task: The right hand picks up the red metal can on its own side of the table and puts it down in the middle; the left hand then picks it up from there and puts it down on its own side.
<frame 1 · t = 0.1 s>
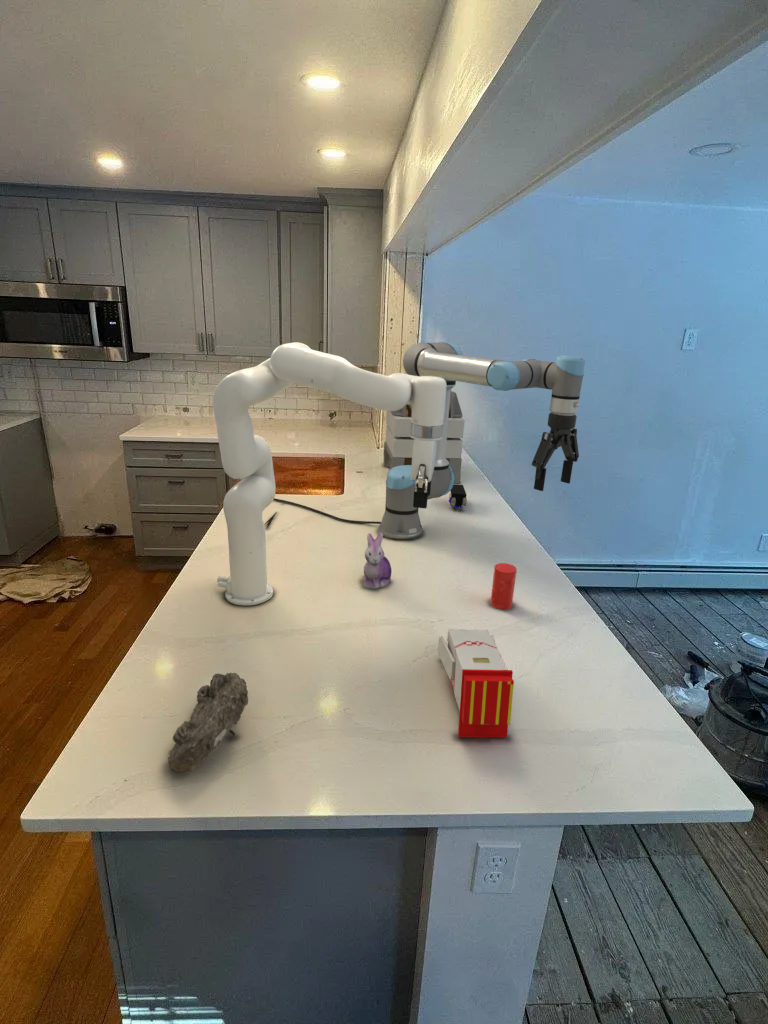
left hand: (421, 501, 137), 31 cm above the counter, tool pointing down, fingers open, 9 cm apart
right hand: (552, 486, 165), 28 cm above the counter, tool pointing down, fingers open, 13 cm apart
feather: (274, 516, 211), on the counter
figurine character: (456, 506, 231), on the counter
toy: (469, 691, 119), on the counter
fossil: (215, 733, 104), on the counter
figurine: (376, 582, 164), on the counter
can: (501, 604, 155), on the counter
grey wooden crate: (419, 473, 275), on the counter
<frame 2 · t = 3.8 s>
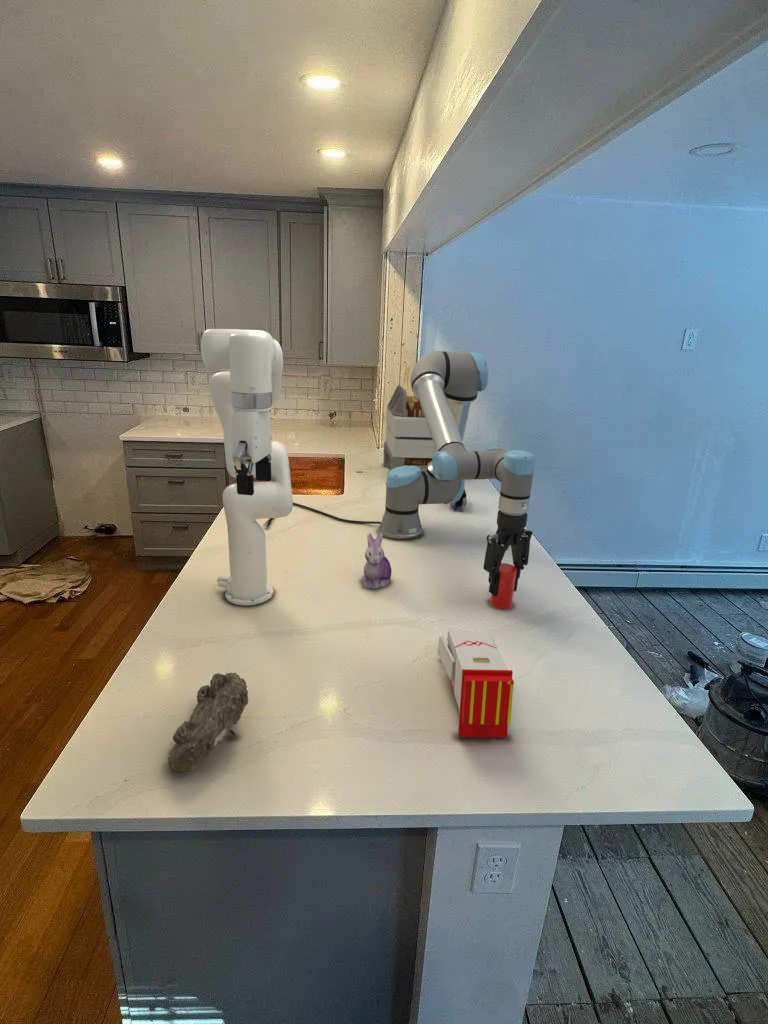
left hand: (255, 487, 113), 40 cm above the counter, tool pointing down, fingers open, 9 cm apart
right hand: (502, 591, 154), 4 cm above the counter, tool pointing down, fingers closed on can, 6 cm apart
can: (501, 604, 155), on the counter, touching right hand
everything else where it was.
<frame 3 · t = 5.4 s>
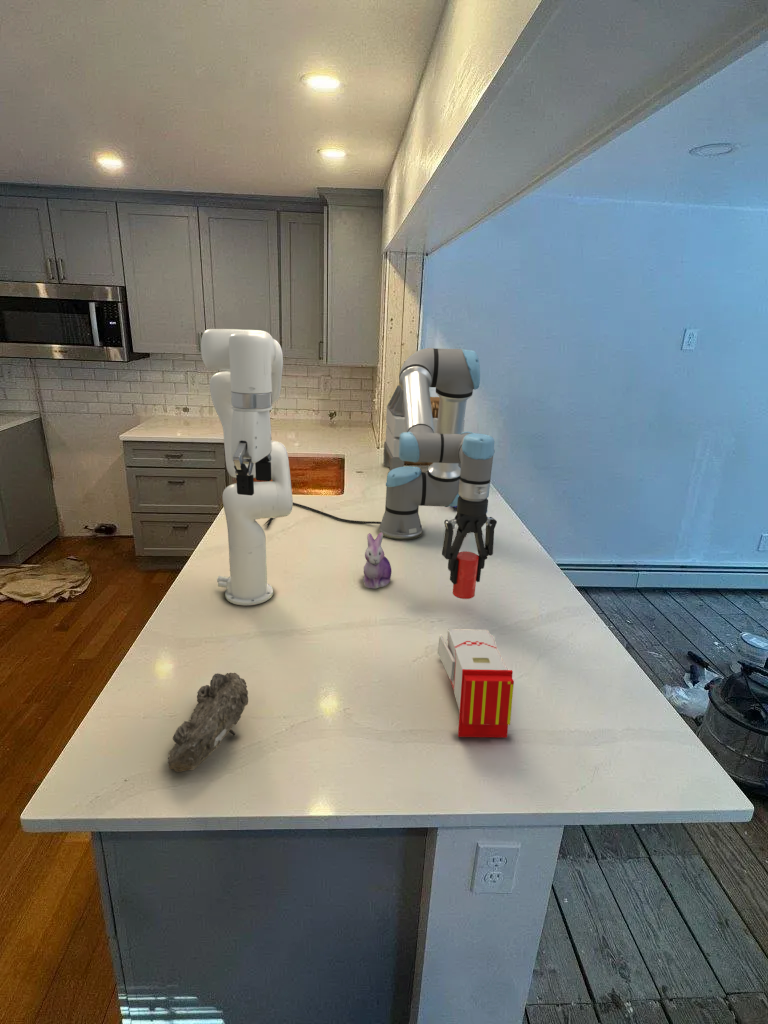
left hand: (255, 487, 113), 40 cm above the counter, tool pointing down, fingers open, 9 cm apart
right hand: (464, 580, 149), 8 cm above the counter, tool pointing down, fingers closed on can, 6 cm apart
can: (463, 593, 150), point 5 cm above the counter, touching right hand
everything else where it was.
when the right hand's fingers open (5 cm above the counter, at t = 7.1 s): can drops 1 cm, on the counter.
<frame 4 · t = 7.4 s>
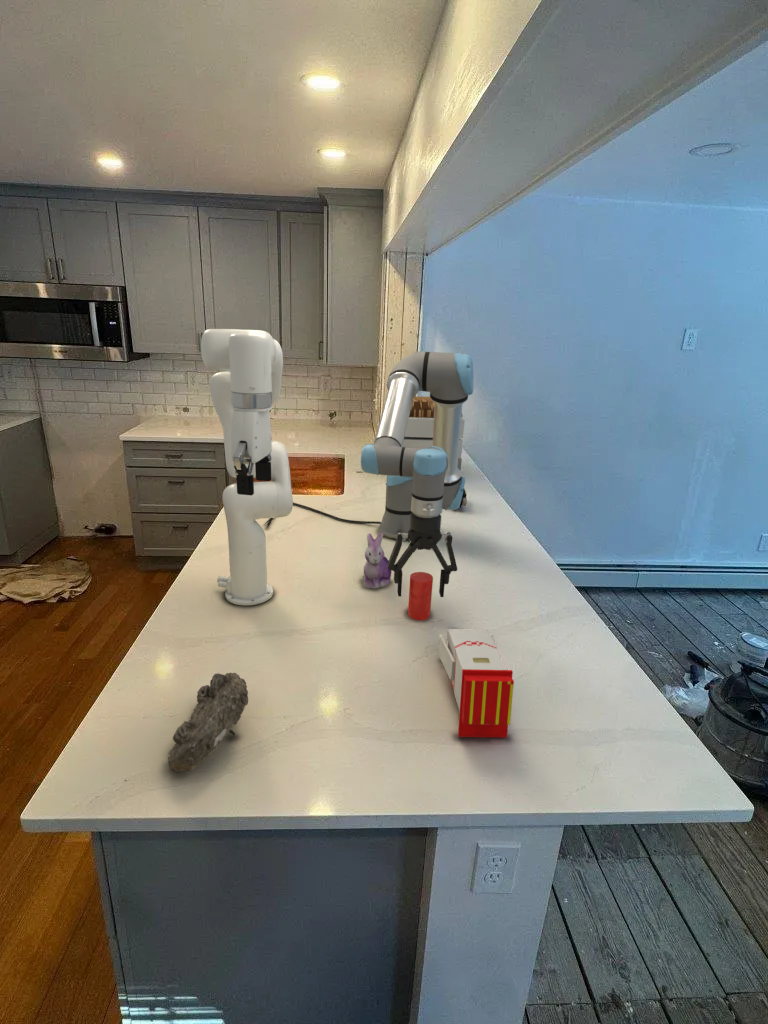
left hand: (255, 487, 113), 40 cm above the counter, tool pointing down, fingers open, 9 cm apart
right hand: (420, 594, 146), 6 cm above the counter, tool pointing down, fingers open, 10 cm apart
can: (418, 614, 148), on the counter
everything else where it was.
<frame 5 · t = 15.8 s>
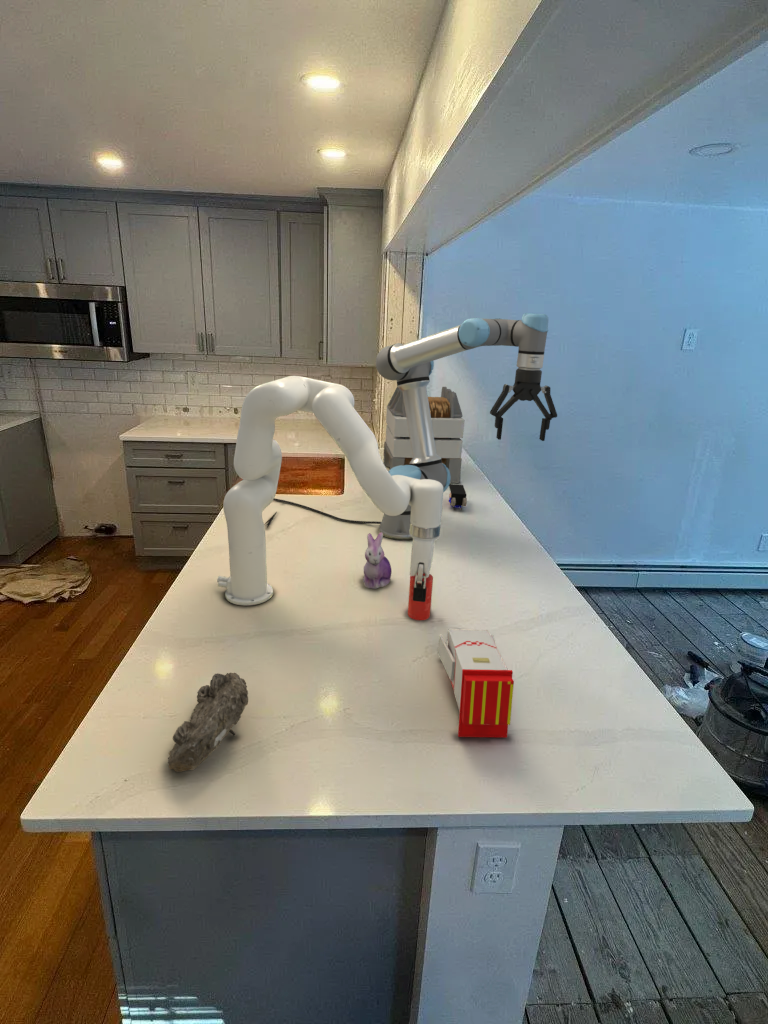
left hand: (420, 594, 146), 6 cm above the counter, tool pointing down, fingers closed on can, 5 cm apart
right hand: (520, 439, 175), 38 cm above the counter, tool pointing down, fingers open, 13 cm apart
can: (418, 614, 148), on the counter, touching left hand
everything else where it was.
when the left hand's fingers open (7 cm above the counter, at t = 20.8 s): can drops 1 cm, on the counter.
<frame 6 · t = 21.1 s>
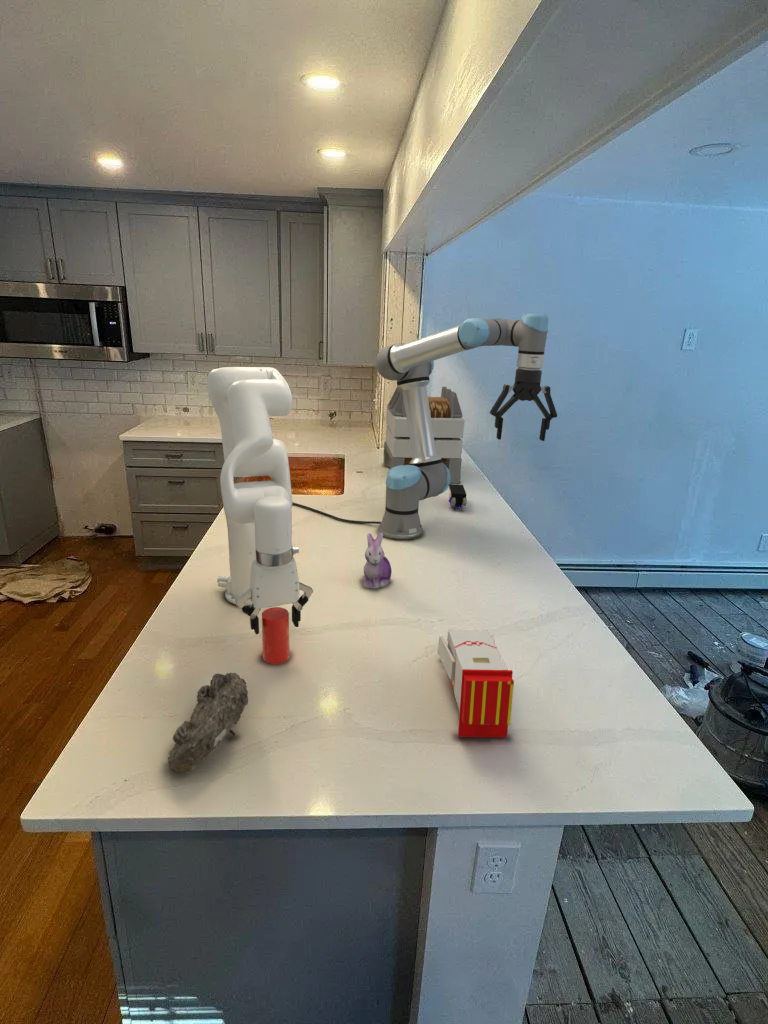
left hand: (275, 627, 125), 8 cm above the counter, tool pointing down, fingers open, 8 cm apart
right hand: (520, 439, 175), 38 cm above the counter, tool pointing down, fingers open, 13 cm apart
can: (276, 656, 128), on the counter
everything else where it was.
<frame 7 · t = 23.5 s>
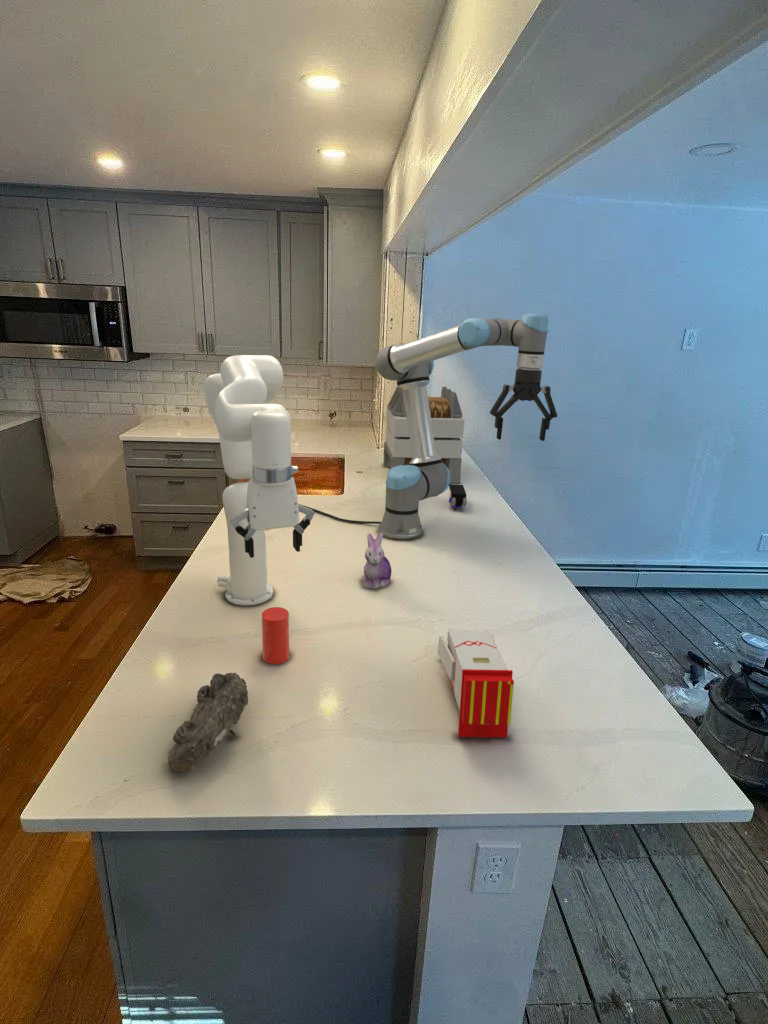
left hand: (274, 552, 119), 26 cm above the counter, tool pointing down, fingers open, 9 cm apart
right hand: (520, 439, 175), 38 cm above the counter, tool pointing down, fingers open, 13 cm apart
nothing on the counter moved.
at the end: can inside the target area (0.2 cm from its centre), on the counter; can tilted 0°; the two hands never held the can at the same time; the left hand is holding nothing; the right hand is holding nothing; can at rest at the end (0.0 cm/s) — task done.
